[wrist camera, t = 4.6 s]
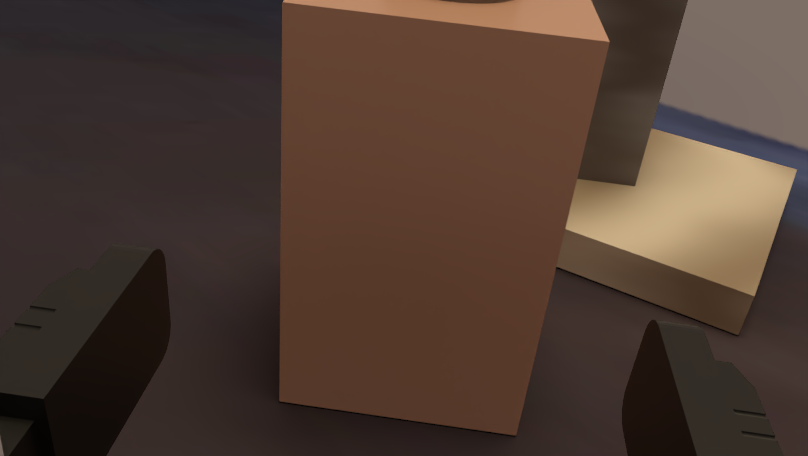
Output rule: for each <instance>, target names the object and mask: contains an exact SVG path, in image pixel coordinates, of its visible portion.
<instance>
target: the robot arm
mask: <svg viewBox="0 0 808 456" xmlns="http://www.w3.org/2000/svg"><path fill="white" fill-rule="evenodd" d="M170 328H171V322H170V310H169V298H168V287H167V275H166V264H165V257H164V254H163V252H162V251H161V250H160V249H154V248H147V247H139V246H132V245H125V244H118V243H115V244H112V245H111V246H110V247H109V248H108V249H107V250H106V251H105V253H104V254H103V255H102V256H101V257H100V258H99V260H98V261H97V262H96V263H95V264H94V266H93V267H92V268H91V269H90V270H86V269H79V268H77V269H75V270H74V271H72V272H70V273H68V274H67V275H65V276H63V277H61V278H60V279H58V280H56V281H54V282H53V283H51V284H49V285H48V286H47V287H46V288H45V290H44V291H43V292H42V293H41V294H40V295H39V296H38V297H37V298H36V300H35V301H34V302H33V303H32V304H31V305H30V309H29V310H26V311H25V312H24V313H23V314H22V315H21V316H20V317H19V318H18V320H17V321H16V322H15V325H14V327H10V328H9V330H8V331H7V332H6V333H5V334H4V335H3V336H2V337H1V338H0V456H106V455H107V454H108V452H109V450H110V449H111V447H112V445H113V443H114V442H115V440H116V438H117V437H118V435H119V433H120V431H121V430H122V428H123V426H124V425H125V423H126V421H127V419H128V418H129V416H130V414H131V413H132V411H133V409H134V408H135V406H136V404H137V402H138V401H139V399H140V397H141V396H142V394H143V392H144V390H145V389H146V387H147V385H148V384H149V382H150V380H151V378H152V377H153V375H154V373H155V372H156V370H157V368H158V366H159V365H160V363H161V361H162V359H163V357H164V355H165V353H166V350H167V346H168V342H169V337H170ZM765 415H766V413H765V411H764V408H763V406H762V404H761V401H760V399H759V397H758V394H757V392H756V390H755V387H754V386H753V385H752V384H751V383H750V382H749V381H748V380H747V379H746V378H745V377H744V376H743V375H742V373H741V372H740V371H739V370H738V369H737V368H736V367H735V366H734V365H733V364H732V363H729V362H722V361H715V360H714V357H713V354H712V352H711V349H710V346H709V344H708V341H707V338H706V336H705V333H704V331H703V329H702V328H701V327H699V326H692V325H685V324H678V323H671V322H664V321H657V320H652V321H651V322H650V323H649V324H648V326H647V328H646V330H645V333H644V336H643V339H642V342H641V345H640V348H639V351H638V354H637V357H636V360H635V363H634V366H633V369H632V372H631V375H630V378H629V381H628V384H627V387H626V390H625V394H624V399H623V407H622V426H623V433H624V438H625V443H626V448H627V453H628V456H783V453H782V451H781V448H780V446H779V444H778V441H775V434H774V432H773V430H772V427H771V425H770V423H769V420H768V419H766V418H765Z"/></svg>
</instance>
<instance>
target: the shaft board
mask: <svg viewBox="0 0 808 456" xmlns="http://www.w3.org/2000/svg"><path fill="white" fill-rule="evenodd" d="M591 1H592V3H593V6H594V8H595V10H596V12H597V15H598V17H599V19H600V21H601V23H602V26H603V28H604V30H605V32H606V35H607V37H608V39H609V41H610V43H609V47H608V51H607V55H606V60H605V64H604V68H603V72H602V77H601V81H600V85H599V89H598V93H597V98H596V102H595V106H594V110H593V114H592V119H591V123H590V127H589V131H588V135H587V140H586V144H585V148H584V152H583V157H582V161H581V165H580V169H579V173H578V178H577V182H576V186H575V190H574V194H573V199H572V203H571V207H570V211H569V215H568V220H567V224H566V228H565V232H564V237H563V241H562V245H561V249H560V253H559V258H558V262H557V266H556V267H559V268H561V269H564V270H567V271H569V272H572V273H575V274H577V275H580V276H583V277H585V278H588V279H591V280H593V281H596V282H598V283H601V284H604V285H606V286H609V287H612V288H614V289H617V290H620V291H622V292H625V293H628V294H630V295H633V296H635V297H638V298H641V299H643V300H646V301H649V302H651V303H654V304H657V305H659V306H662V307H664V308H667V309H670V310H672V311H675V312H678V313H680V314H683V315H686V316H688V317H691V318H694V319H696V320H699V321H701V322H704V323H707V324H709V325H712V326H715V327H717V328H720V329H723V330H725V331H728V332H731V333H733V334H736V335H739V333H740V330H741V328H742V325H743V323H744V321H745V318H746V316H747V313H748V311H749V308H750V306H751V304H752V301H753V299H754V296H755V293H756V290H757V287H758V284H759V281H760V278H761V275H762V272H763V269H764V266H765V263H766V260H767V258H768V255H769V252H770V249H771V246H772V243H773V240H774V237H775V234H776V231H777V228H778V225H779V222H780V219H781V216H782V213H783V210H784V207H785V204H786V201H787V198H788V195H789V192H790V189H791V186H792V183H793V180H794V177H795V174H796V171H797V170H796V169H793V168H789V167H786V166H782V165H779V164H775V163H772V162H768V161H765V160H761V159H758V158H754V157H750V156H747V155H743V154H740V153H736V152H733V151H729V150H726V149H722V148H719V147H715V146H712V145H708V144H705V143H701V142H698V141H694V140H691V139H687V138H684V137H680V136H676V135H673V134H669V133H666V132H662V131H659V130H655V129H652V125H653V121H654V118H655V114H656V111H657V107H658V104H659V100H660V96H661V93H662V89H663V86H664V82H665V79H666V75H667V72H668V68H669V65H670V61H671V58H672V54H673V51H674V47H675V44H676V40H677V37H678V33H679V29H680V26H681V23H682V19H683V15H684V12H685V8H686V5H687V1H688V0H591Z"/></svg>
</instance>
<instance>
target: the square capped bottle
mask: <svg viewBox="0 0 808 456" xmlns="http://www.w3.org/2000/svg"><path fill="white" fill-rule="evenodd" d="M609 43H610V41H609V39H608V37H607V35H606V32H605V30H604V28H603V26H602V23H601V21H600V19H599V17H598V15H597V12H596V10H595V8H594V6H593V3H592V1H591V0H284V1H283V2H282V125H281V256H280V386H279V401H280V402H287V403H294V404H301V405H308V406H314V407H321V408H328V409H335V410H342V411H349V412H356V413H363V414H370V415H377V416H384V417H390V418H397V419H404V420H411V421H418V422H425V423H432V424H439V425H446V426H453V427H459V428H466V429H473V430H480V431H487V432H494V433H501V434H508V435H515V436H516V434H517V430H518V426H519V422H520V418H521V413H522V409H523V405H524V401H525V397H526V392H527V388H528V384H529V380H530V375H531V371H532V367H533V363H534V359H535V354H536V350H537V346H538V342H539V338H540V333H541V329H542V325H543V321H544V317H545V312H546V308H547V304H548V300H549V295H550V291H551V287H552V283H553V279H554V274H555V270H556V266H557V262H558V258H559V253H560V249H561V245H562V241H563V237H564V232H565V228H566V224H567V220H568V215H569V211H570V207H571V203H572V199H573V194H574V190H575V186H576V182H577V178H578V173H579V169H580V165H581V161H582V157H583V152H584V148H585V144H586V140H587V135H588V131H589V127H590V123H591V119H592V114H593V110H594V106H595V102H596V98H597V93H598V89H599V85H600V81H601V77H602V72H603V68H604V64H605V60H606V55H607V51H608V47H609Z"/></svg>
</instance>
